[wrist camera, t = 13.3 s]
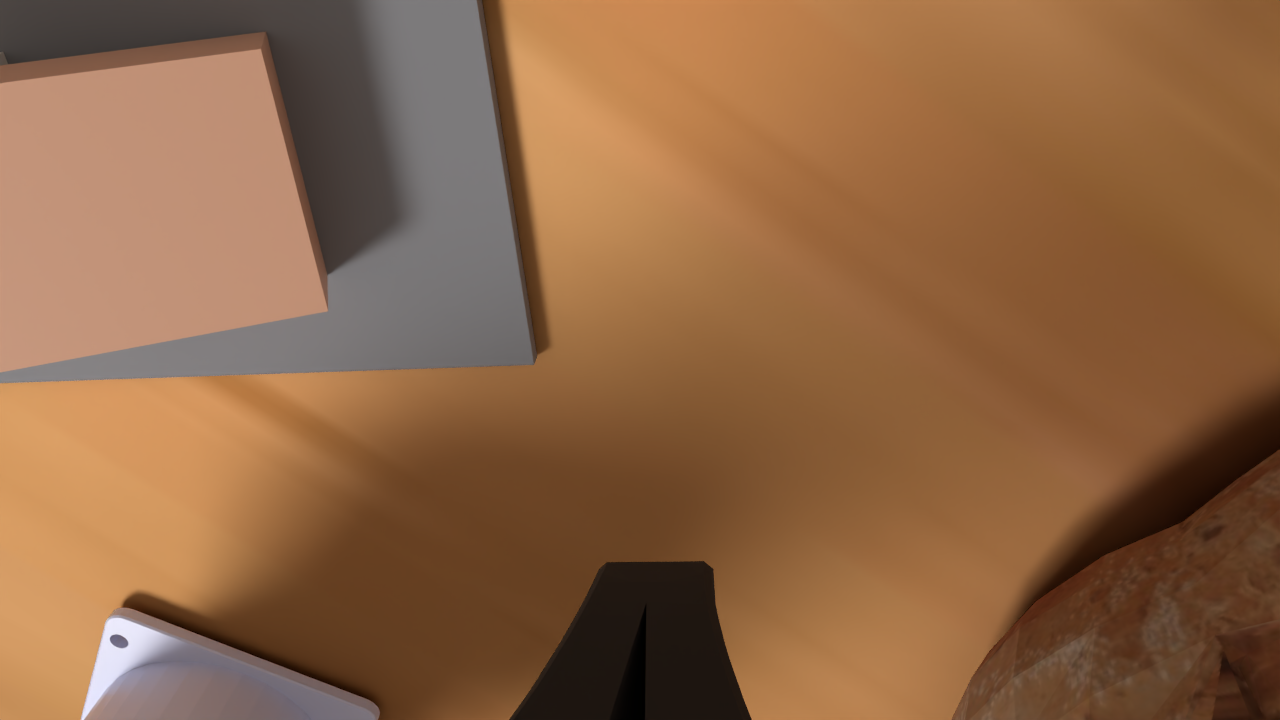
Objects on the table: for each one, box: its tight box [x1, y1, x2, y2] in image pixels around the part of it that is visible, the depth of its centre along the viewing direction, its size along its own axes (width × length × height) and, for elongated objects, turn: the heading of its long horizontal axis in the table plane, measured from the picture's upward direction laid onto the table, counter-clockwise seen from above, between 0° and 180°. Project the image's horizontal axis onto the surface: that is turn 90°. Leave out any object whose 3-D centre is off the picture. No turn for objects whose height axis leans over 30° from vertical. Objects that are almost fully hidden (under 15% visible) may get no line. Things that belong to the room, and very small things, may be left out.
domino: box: [0, 32, 328, 372], centre depth 19 cm, size 2×5×9 cm
